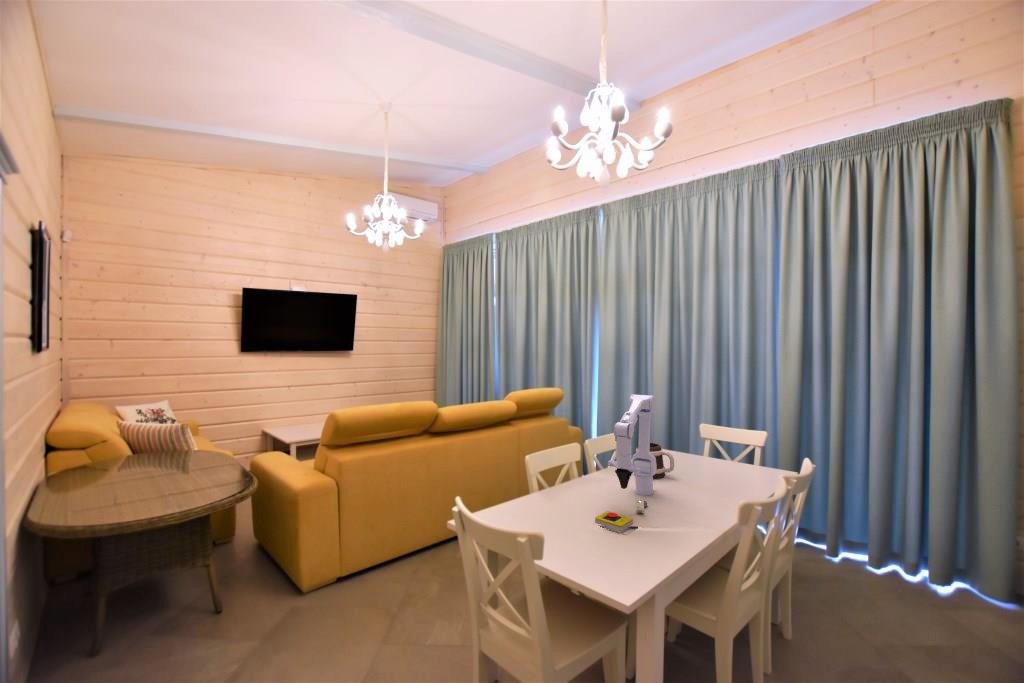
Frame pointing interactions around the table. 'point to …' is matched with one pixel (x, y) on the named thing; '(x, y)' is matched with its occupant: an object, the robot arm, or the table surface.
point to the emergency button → (616, 522)
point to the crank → (640, 506)
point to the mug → (660, 460)
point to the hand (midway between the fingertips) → (624, 487)
